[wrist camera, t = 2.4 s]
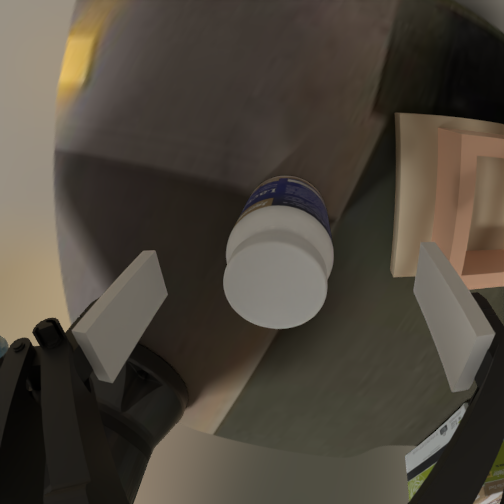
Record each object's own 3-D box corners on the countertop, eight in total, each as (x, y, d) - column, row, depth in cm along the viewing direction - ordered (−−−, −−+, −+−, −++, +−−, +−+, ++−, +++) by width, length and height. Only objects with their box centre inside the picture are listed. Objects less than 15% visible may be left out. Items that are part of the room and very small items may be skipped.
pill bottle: (266, 160, 21) (240, 206, 12) (340, 196, 21) (366, 266, 13) (234, 228, 24) (195, 309, 15) (303, 260, 24) (301, 353, 15)
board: (389, 269, 23) (393, 277, 22) (394, 112, 18) (399, 113, 17) (533, 260, 20) (539, 266, 19) (552, 134, 15) (560, 137, 14)
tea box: (461, 400, 30) (487, 497, 17) (504, 401, 29) (532, 482, 16) (402, 455, 37) (409, 536, 24) (446, 454, 37) (458, 525, 24)
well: (427, 266, 21) (443, 291, 18) (438, 127, 17) (461, 133, 14) (523, 260, 19) (543, 281, 16) (540, 142, 15) (567, 151, 12)
